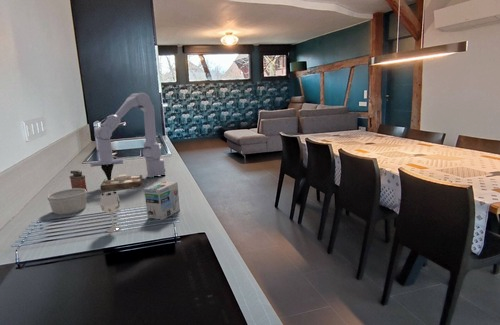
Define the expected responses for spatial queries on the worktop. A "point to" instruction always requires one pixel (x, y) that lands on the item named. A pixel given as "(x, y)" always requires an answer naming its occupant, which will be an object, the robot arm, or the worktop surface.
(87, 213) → the worktop surface
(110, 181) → the key
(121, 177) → the key
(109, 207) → the wineglass
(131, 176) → the key
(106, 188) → the button board
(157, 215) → the light bulb box
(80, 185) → the lighter
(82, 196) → the ramekin
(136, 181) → the pattern card
